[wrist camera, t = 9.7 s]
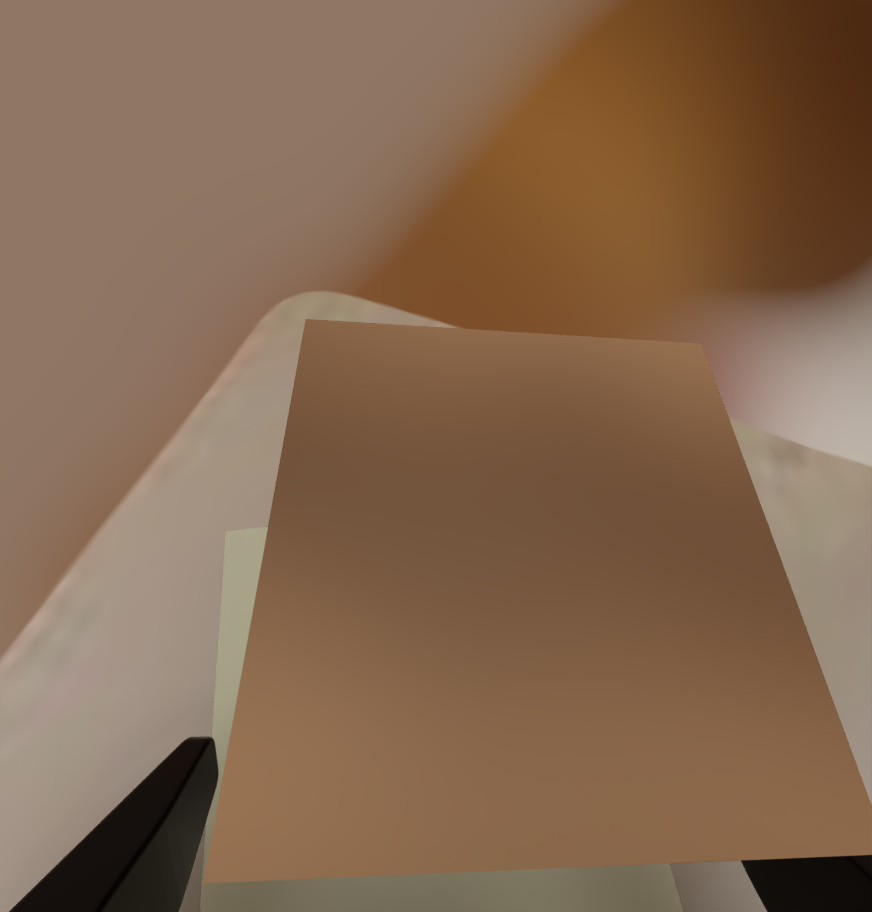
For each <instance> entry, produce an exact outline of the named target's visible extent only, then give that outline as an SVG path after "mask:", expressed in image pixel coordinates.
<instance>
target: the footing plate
mask: <svg viewBox="0 0 872 912" xmlns="http://www.w3.org/2000/svg"><path fill="white" fill-rule="evenodd" d="M267 530H268V527H262V528H253V529H244V530H235V531H226V539H225V554H224V568H223V583H222V597H221V611H220V626H219V640H218V654H217V669H216V683H215V697H214V712H213V726H212V738H213V739H214V741H215V747H216V754H217V761H218V769H219V776H218V782H217V787H216V790H215V794H214V797H213V800H212V804H211V807H210V810H209V814H208V817H207V820H206V827H205V841H204V855H203V870H202V884H201V898H200V912H684V910H683V907H682V904H681V900H680V897H679V893H678V890H677V887H676V883H675V880H674V877H673V873H672V870H671V866H670V863H668V864H645V865H621V866H598V867H574V868H551V869H528V870H504V871H481V872H458V873H434V874H411V875H387V876H364V877H341V878H317V879H294V880H271V881H247V882H224V883H204V877H205V872H206V866H207V861H208V855H209V850H210V844H211V839H212V833H213V828H214V822H215V817H216V811H217V806H218V800H219V795H220V789H221V784H222V778H223V773H224V767H225V762H226V756H227V751H228V745H229V740H230V734H231V729H232V723H233V718H234V712H235V707H236V701H237V696H238V690H239V685H240V679H241V674H242V668H243V663H244V657H245V652H246V646H247V641H248V635H249V629H250V624H251V618H252V613H253V607H254V602H255V596H256V591H257V585H258V580H259V574H260V569H261V563H262V558H263V552H264V547H265V541H266V536H267Z"/></svg>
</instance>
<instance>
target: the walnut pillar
mask: <svg viewBox="0 0 872 912" xmlns="http://www.w3.org/2000/svg"><path fill="white" fill-rule="evenodd" d="M855 855H872V806H871V803H870V800H869V797H868V795H867V792H866V789H865V787H864V784H863V781H862V778H861V776H860V773H859V770H858V768H857V765H856V762H855V759H854V757H853V754H852V751H851V749H850V746H849V743H848V740H847V738H846V735H845V732H844V730H843V727H842V724H841V721H840V719H839V716H838V713H837V711H836V708H835V705H834V702H833V700H832V697H831V694H830V692H829V689H828V686H827V683H826V681H825V678H824V675H823V673H822V670H821V667H820V664H819V662H818V659H817V656H816V654H815V651H814V648H813V645H812V643H811V640H810V637H809V635H808V632H807V629H806V626H805V624H804V621H803V618H802V616H801V613H800V610H799V608H798V605H797V602H796V599H795V597H794V594H793V591H792V589H791V586H790V583H789V580H788V578H787V575H786V572H785V570H784V567H783V564H782V561H781V559H780V556H779V553H778V551H777V548H776V545H775V542H774V540H773V537H772V534H771V532H770V529H769V526H768V523H767V521H766V518H765V515H764V513H763V510H762V507H761V504H760V502H759V499H758V496H757V494H756V491H755V488H754V485H753V483H752V480H751V477H750V475H749V472H748V469H747V466H746V464H745V461H744V458H743V456H742V453H741V450H740V447H739V445H738V442H737V439H736V437H735V434H734V431H733V428H732V426H731V423H730V420H729V418H728V415H727V412H726V410H725V407H724V404H723V401H722V399H721V396H720V393H719V390H718V388H717V385H716V383H715V380H714V377H713V374H712V372H711V369H710V366H709V363H708V361H707V358H706V355H705V352H704V350H703V347H702V344H696V343H680V342H664V341H649V340H632V339H617V338H601V337H585V336H569V335H553V334H536V333H521V332H503V331H488V330H473V329H457V328H441V327H425V326H409V325H392V324H376V323H360V322H344V321H328V320H312V319H306V321H305V326H304V332H303V337H302V343H301V348H300V354H299V360H298V365H297V371H296V376H295V382H294V387H293V393H292V398H291V404H290V409H289V415H288V420H287V426H286V431H285V437H284V442H283V448H282V453H281V459H280V464H279V470H278V475H277V481H276V486H275V492H274V497H273V503H272V508H271V514H270V519H269V525H268V530H267V536H266V541H265V547H264V552H263V558H262V563H261V569H260V574H259V580H258V585H257V591H256V596H255V602H254V607H253V613H252V618H251V624H250V629H249V635H248V641H247V646H246V652H245V657H244V663H243V668H242V674H241V679H240V685H239V690H238V696H237V701H236V707H235V712H234V718H233V723H232V729H231V734H230V740H229V745H228V751H227V756H226V762H225V767H224V773H223V778H222V784H221V789H220V795H219V800H218V806H217V811H216V817H215V822H214V828H213V833H212V839H211V844H210V850H209V855H208V861H207V866H206V872H205V877H204V883H224V882H247V881H271V880H294V879H317V878H341V877H364V876H387V875H411V874H434V873H458V872H481V871H504V870H528V869H551V868H574V867H598V866H621V865H645V864H668V863H691V862H715V861H738V860H762V859H785V858H808V857H832V856H855Z"/></svg>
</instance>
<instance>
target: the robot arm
mask: <svg viewBox="0 0 872 912" xmlns="http://www.w3.org/2000/svg"><path fill="white" fill-rule="evenodd" d="M218 776H219V769H218V761H217V754H216V747H215V741H214V739H213V738H212V737H190V738H188V739H186V740H184V741H183V742H182V743H181V744H180V745H179V746H178V747H177V748H176V749H175V750H174V751H173V752H172V753H171V754H170V755H169V756H168V757H167V758H166V759H165V760H164V761H163V762H162V763H161V764H160V765H158V766H157V767H156V768H155V769H154V770H153V771H152V772H151V773H150V774H149V775H148V776H147V777H146V778H145V779H144V780H143V781H142V782H141V783H140V784H139V785H138V786H137V787H136V788H135V789H134V790H133V791H132V792H131V793H130V794H129V795H128V796H127V797H126V798H125V799H124V800H123V801H122V802H121V803H120V804H119V805H118V806H117V807H116V808H115V809H114V810H112V811H111V812H110V813H109V814H108V815H107V816H106V817H105V818H104V819H103V820H102V821H101V822H100V823H99V824H98V825H97V826H96V827H95V828H94V829H93V830H92V831H91V832H90V833H89V834H88V835H87V836H86V837H85V838H84V839H83V840H82V841H81V842H80V843H79V844H78V845H77V846H76V847H75V848H74V849H73V850H72V851H71V852H70V853H69V854H68V855H66V856H65V857H64V858H63V859H62V860H61V861H60V862H59V863H58V864H57V865H56V866H55V867H54V868H53V869H52V870H51V871H50V872H49V873H48V874H47V875H46V876H45V877H44V878H43V879H42V880H41V881H40V882H39V883H38V884H37V885H36V886H35V887H34V888H33V889H32V890H31V891H30V892H29V893H28V894H27V895H26V896H25V897H24V898H23V899H22V900H20V901H19V902H18V903H17V904H16V905H15V906H14V907H13V908H12V909H11V910H10V911H9V912H178V911H179V909H180V906H181V903H182V900H183V897H184V894H185V890H186V887H187V884H188V881H189V877H190V874H191V871H192V867H193V864H194V861H195V857H196V854H197V851H198V847H199V844H200V841H201V837H202V834H203V830H204V827H205V824H206V820H207V817H208V814H209V810H210V807H211V804H212V800H213V797H214V794H215V790H216V787H217V782H218ZM741 862H742V864H743V866H744V868H745V870H746V872H747V874H748V876H749V878H750V880H751V882H752V884H753V886H754V888H755V890H756V892H757V893H758V895H759V897H760V899H761V901H762V903H763V904H764V906H765V908H766V910H767V912H872V855H855V856H832V857H808V858H785V859H762V860H741Z"/></svg>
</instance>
